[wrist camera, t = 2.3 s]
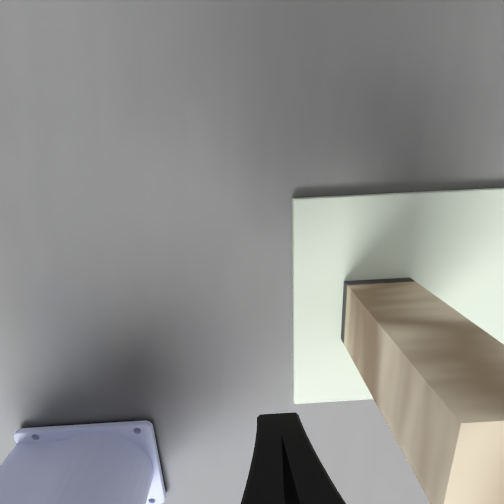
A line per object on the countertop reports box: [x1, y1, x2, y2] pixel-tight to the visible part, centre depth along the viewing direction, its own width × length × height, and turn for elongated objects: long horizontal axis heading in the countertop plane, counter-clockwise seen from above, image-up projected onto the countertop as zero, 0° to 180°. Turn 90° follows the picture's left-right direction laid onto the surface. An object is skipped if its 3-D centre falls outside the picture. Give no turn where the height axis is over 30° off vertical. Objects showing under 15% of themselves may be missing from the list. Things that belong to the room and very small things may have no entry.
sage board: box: [292, 188, 504, 404], centre depth 19 cm, size 16×14×1 cm
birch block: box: [341, 278, 504, 504], centre depth 14 cm, size 4×4×10 cm
